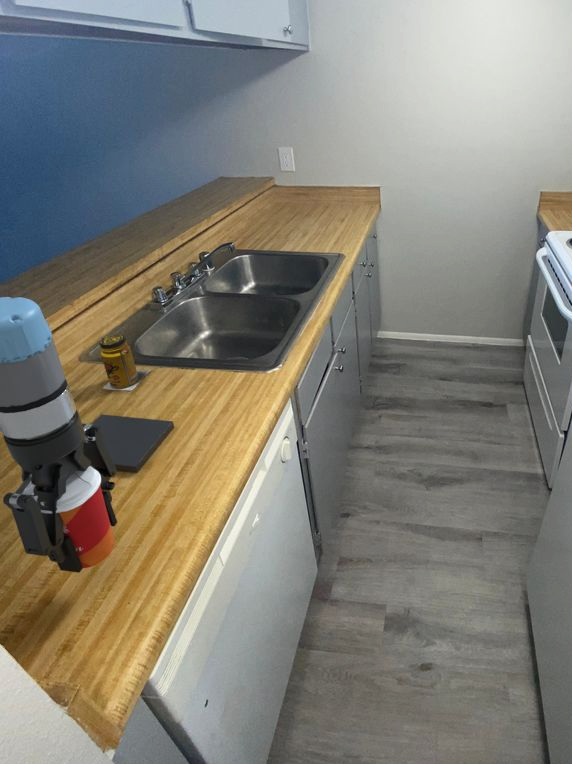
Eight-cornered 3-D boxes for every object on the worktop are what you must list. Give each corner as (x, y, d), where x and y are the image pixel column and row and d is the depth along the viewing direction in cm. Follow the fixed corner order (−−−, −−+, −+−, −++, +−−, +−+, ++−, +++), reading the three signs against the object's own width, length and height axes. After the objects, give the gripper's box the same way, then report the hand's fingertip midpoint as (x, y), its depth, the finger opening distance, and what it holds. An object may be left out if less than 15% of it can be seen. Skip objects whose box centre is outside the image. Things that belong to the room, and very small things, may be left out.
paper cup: (57, 546, 69) (25, 477, 62) (116, 519, 73) (92, 452, 67) (65, 587, 64) (32, 517, 57) (128, 555, 68) (104, 487, 62)
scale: (49, 469, 89) (43, 455, 87) (100, 420, 101) (95, 407, 100) (133, 478, 88) (129, 464, 86) (174, 427, 100) (171, 414, 99)
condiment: (101, 389, 111) (87, 345, 105) (123, 369, 118) (111, 327, 113) (132, 391, 111) (119, 347, 105) (151, 371, 118) (140, 329, 113)
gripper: (70, 372, 66) (110, 488, 77) (-68, 479, 49) (8, 610, 60) (121, 377, 66) (154, 494, 76) (0, 487, 48) (65, 618, 59)
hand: (90, 544), depth 68 cm, fingers closed on paper cup, 7 cm apart
